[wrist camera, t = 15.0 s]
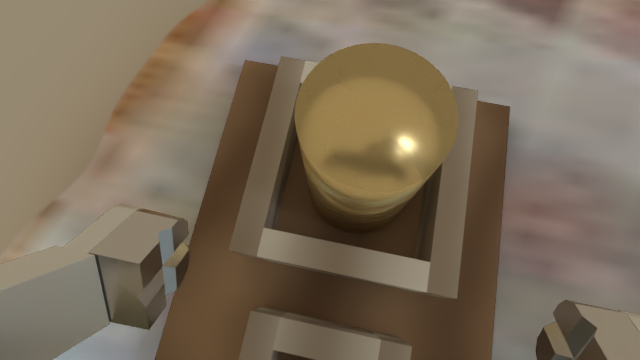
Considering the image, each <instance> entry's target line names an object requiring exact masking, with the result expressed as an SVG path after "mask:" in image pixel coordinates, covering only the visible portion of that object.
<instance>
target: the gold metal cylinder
mask: <svg viewBox="0 0 640 360" xmlns="http://www.w3.org/2000/svg"><path fill="white" fill-rule="evenodd" d="M295 125H296V131H297V136H298V140H299V145H300V149H301V154H302V159H303V163H304V168H305V173H306V177H307V182H308V187H309V191H310V196H311V199H312V202H313V204H314V207H315V208H316V210H317V212H318V213H319V214H320V215H321V217H322V218H323V219H324V220H325V221H326V222H328V223H329V224H331V225H332V226H334V227H336V228H337V229H340V230H343V231H346V232H350V233H368V232H372V231H376V230H378V229H380V228H383V227H384V226H386V225H387V224H389V223H390V222H391V221H392V220H393V219H394V218H395V217H396V216H397V215H398V214H399V213H400V211H401V210H402V209H403V208H404V207H405V206H406V204H407V203H408V202H409V201H410V200H411V199H412V197H413V196H414V195H415V194H416V193H417V192H418V190H419V189H420V188H421V187H422V186H423V185H424V183H425V182H426V181H427V180H428V179H429V178H430V176H431V175H432V174H433V173H434V172H435V171H436V169H437V168H438V167H439V166H440V165H441V164H442V162H443V161H444V160H445V158H446V157H447V155H448V154H449V152H450V150H451V148H452V146H453V144H454V141H455V138H456V135H457V129H458V109H457V104H456V100H455V97H454V94H453V92H452V90H451V87H450V86H449V84H448V82H447V81H446V79H445V78H444V77H443V75H442V74H441V73H440V72H439V70H437V69H436V68H435V67H434V66H433V65H432V64H431V63H430V62H428V61H427V60H426V59H424V58H423V57H421V56H419V55H418V54H416V53H414V52H412V51H409V50H407V49H404V48H401V47H398V46H394V45H388V44H379V43H369V44H360V45H354V46H351V47H347V48H344V49H342V50H339V51H337V52H335V53H333V54H331V55H329V56H328V57H326V58H325V59H324V60H322V61H321V62H320V63H319V64H318V65H316V66H315V67H314V68H313V69H312V71H311V72H310V73H309V74H308V76H307V77H306V79H305V80H304V82H303V84H302V86H301V88H300V90H299V93H298V96H297V99H296V105H295Z"/></svg>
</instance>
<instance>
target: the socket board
mask: <svg viewBox="0 0 640 360" xmlns="http://www.w3.org/2000/svg"><path fill="white" fill-rule="evenodd" d="M318 64H319V63H316V62H311V61H305V60H299V59H293V58H288V57H282V56H281V59H280V63H279V66H276V65H270V64H264V63H259V62H253V61H247V60H245V62H244V65H243V69H242V72H241V75H240V79H239V82H238V85H237V89H236V92H235V95H234V98H233V102H232V105H231V108H230V112H229V115H228V118H227V122H226V125H225V128H224V132H223V135H222V138H221V142H220V145H219V148H218V152H217V155H216V158H215V161H214V165H213V168H212V171H211V175H210V178H209V181H208V185H207V188H206V191H205V195H204V198H203V201H202V205H201V208H200V211H199V214H198V218H197V221H196V224H195V228H194V231H193V234H192V238H191V241H190V244H189V254H190V259H189V265H188V269H187V272H186V274H185V277H184V280H183V281H182V283H181V284H180V286H179V287H178V289H177V290H176V291H175V294H174V297H173V301H172V304H171V307H170V311H169V314H168V317H167V321H166V324H165V327H164V330H163V334H162V337H161V340H160V344H159V347H158V350H157V354H156V357H155V360H491V357H492V343H493V330H494V316H495V302H496V289H497V275H498V262H499V248H500V235H501V221H502V207H503V194H504V180H505V167H506V153H507V140H508V126H509V112H510V107H509V106H503V105H498V104H492V103H486V102H481V101H477V96H478V90H472V89H466V88H460V87H455V86H450V87H451V90H452V92H453V94H454V97H455V100H456V104H457V109H458V129H457V135H456V138H455V141H454V144H453V146H452V148H451V150H450V152H449V154H448V155H447V157H446V158H445V160H444V161H443V162H442V164H441V165H440V166H439V167H438V168H437V169H436V171H435V172H434V173H433V174H432V175H431V176H430V178H429V179H428V180H427V181H426V182H425V183H424V185H423V186H422V187H421V188H420V189H419V190H418V192H417V193H416V194H415V195H414V196H413V197H412V199H411V200H410V201H409V202H408V203H407V204H406V206H405V207H404V208H403V209H402V210H401V211H400V213H399V214H398V215H397V216H396V217H395V218H394V219H393V220H392V221H391V222H390V223H389V224H387V225H386V226H384V227H383V228H380V229H378V230H376V231H372V232H368V233H350V232H346V231H343V230H340V229H337V228H336V227H334V226H332V225H331V224H329V223H328V222H326V221H325V220H324V219H323V218H322V217H321V215H320V214H319V213H318V212H317V210H316V208H315V207H314V204H313V202H312V199H311V196H310V191H309V187H308V182H307V177H306V173H305V168H304V163H303V159H302V154H301V149H300V145H299V140H298V136H297V131H296V125H295V105H296V99H297V96H298V93H299V90H300V88H301V86H302V84H303V82H304V80H305V79H306V77H307V76H308V74H309V73H310V72H311V71H312V69H313V68H314V67H315V66H316V65H318Z"/></svg>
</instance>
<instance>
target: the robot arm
mask: <svg viewBox="0 0 640 360" xmlns="http://www.w3.org/2000/svg"><path fill="white" fill-rule="evenodd" d="M187 235H188V224H187V221H186V220H185V219H183V218H180V217H175V216H171V215H167V214H163V213H159V212H154V211H150V210H146V209H140V208H136V207H132V206H128V205H123V204H120V205H115V206H114V207H112V208H111V209H110V210H109V211H107V212H106V213H105V214H104V215H102V216H101V217H100V218H99V219H97V220H96V221H95V222H94V223H93V224H91V225H90V226H89V227H88V228H86V229H85V230H84V231H83V232H81V233H80V234H79V235H78V236H76V237H75V238H74V239H73V240H72V241H70V242H69V243H68V244H67V245H65V246H64V247H63V248H61V247H57V246H55V247H52V248H48V249H45V250H42V251H39V252H36V253H33V254H30V255H27V256H24V257H21V258H18V259H15V260H12V261H9V262H6V263H3V264H0V360H52V359H54V358H56V357H57V356H59V355H61V354H62V353H64V352H65V351H67V350H69V349H70V348H72V347H74V346H75V345H77V344H78V343H80V342H82V341H83V340H85V339H86V338H88V337H90V336H91V335H93V334H95V333H96V332H98V331H99V330H101V329H103V328H104V327H106V326H108V325H109V324H110V322H113V323H118V324H123V325H128V326H132V327H137V328H142V329H147V330H149V329H150V328H151V326H152V325H153V324H154V322H155V321H156V319H157V318H158V316H159V315H160V314H161V312H162V311H163V309H164V308H165V306H166V295H167V294H169V293H171V292H173V291H175V290H177V289H178V287H179V286H180V284H181V283H182V281H183V280H184V277H185V274H186V272H187V269H188V265H189V259H190V254H189V248H188V247H187V246H186V244H185V243H184V242H183V240H184V239H185V238H186V236H187ZM553 314H554V317H555V320H556V322H554V323H552V324H550V325H547V326H545V327H544V328H543V329H542V331H541V333H540V335H539V336H538V338H537V346H536V356H537V360H640V314H635V313H630V312H624V311H619V310H618V311H615V310H611V309H607V308H602V307H597V306H592V305H587V304H582V303H578V302H573V301H568V300H565V301H563V302H562V303H560V304H559V305H558V306H557V308H556V309H555V311H554V312H553Z"/></svg>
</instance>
